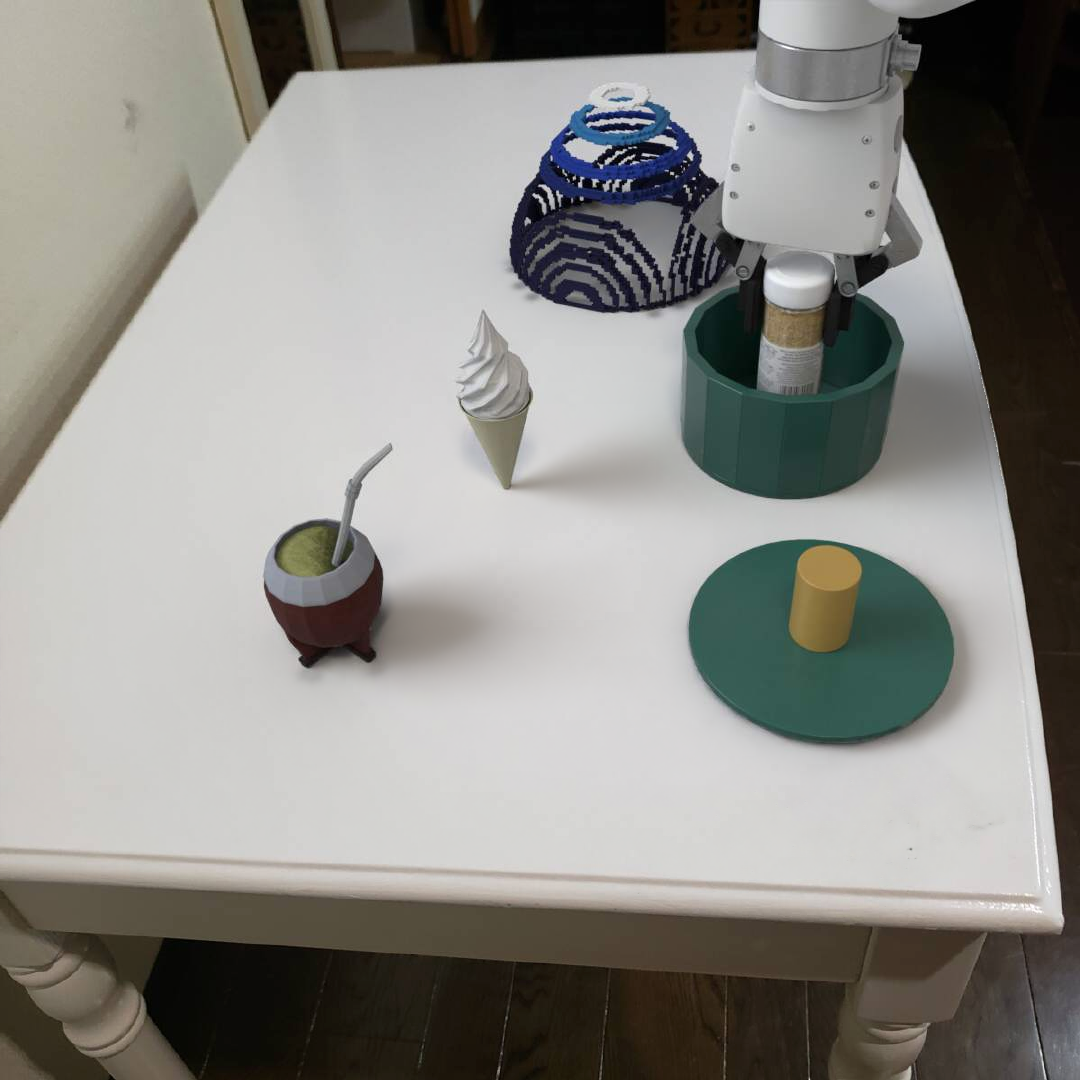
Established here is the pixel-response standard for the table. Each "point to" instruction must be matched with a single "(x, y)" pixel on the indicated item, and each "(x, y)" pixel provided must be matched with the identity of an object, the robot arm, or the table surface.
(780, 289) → the sprinkles bottle
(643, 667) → the table surface
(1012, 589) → the table surface
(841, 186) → the robot arm
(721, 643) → the lid
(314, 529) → the mate gourd
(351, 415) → the table surface
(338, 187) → the table surface
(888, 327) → the tin
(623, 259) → the decorative bowl
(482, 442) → the ice cream cone
